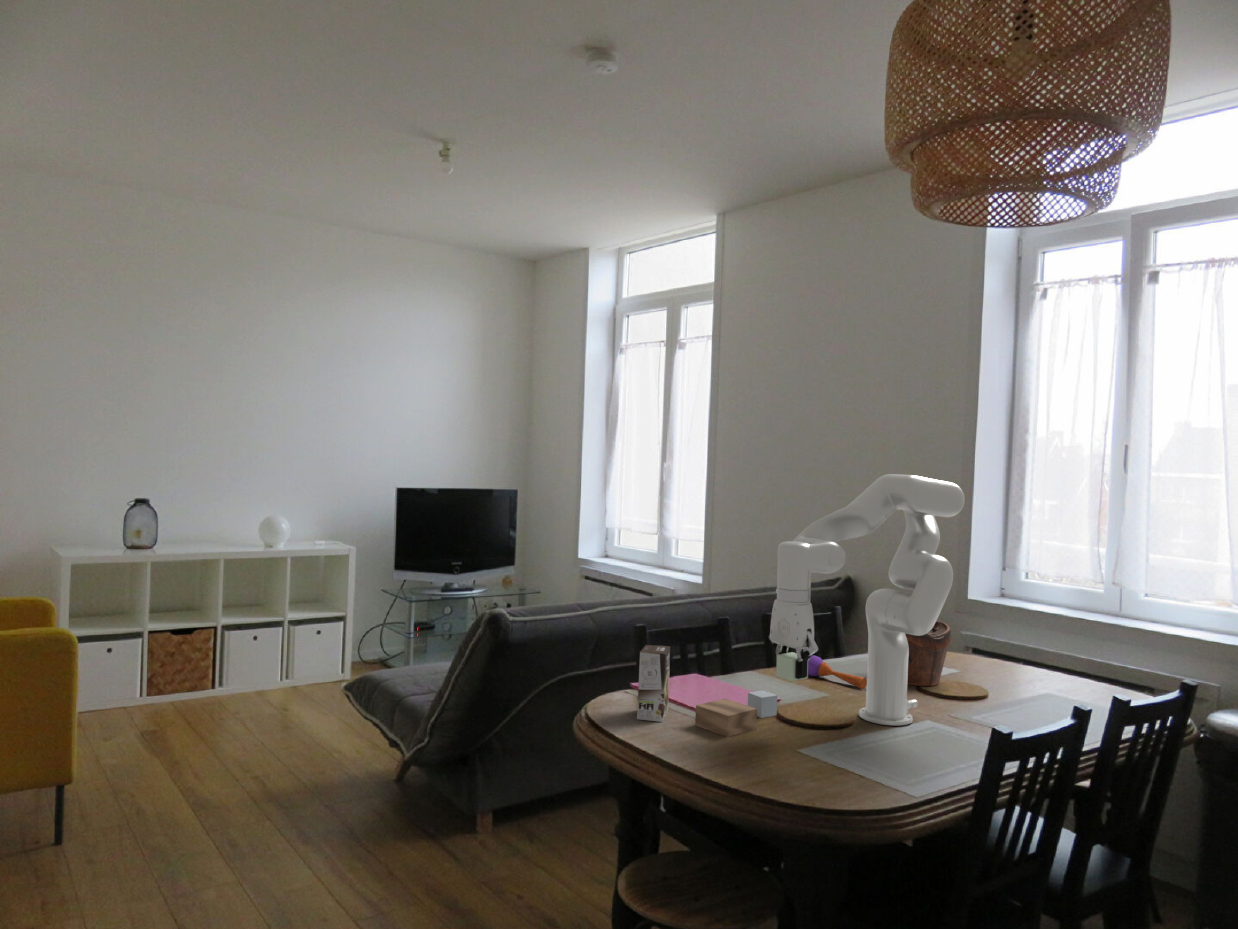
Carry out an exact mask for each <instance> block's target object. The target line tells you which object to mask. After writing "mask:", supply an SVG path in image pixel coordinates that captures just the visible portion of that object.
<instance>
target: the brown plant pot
mask: <svg viewBox="0 0 1238 929" xmlns="http://www.w3.org/2000/svg"><path fill="white" fill-rule="evenodd" d="M951 633H952V631H951V627H950V626H949V624H947V623H945V622H942V621H938V620H936V622H935V624H934V626H933V627H932V629H931V630H930V631H929V632H928V633H926V634H925V635H921V636H915V635H910V634H906V633H905V635H906V638H907V641H908V647H909V657H908V681H907V685H912V686H919V687H920V686H921V687H924V686H925V687H928V686H929V687H933V686H937V685H939V684H940V682H941V677H942V673H943V668H944V666H945V665H944V664H945V661H946V656H947V655H948V654H947V652H948V649H949V646H950V645H951V644H952V643H953V641H952V634H951Z"/></svg>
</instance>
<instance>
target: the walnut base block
mask: <svg viewBox="0 0 1238 929" xmlns="http://www.w3.org/2000/svg"><path fill="white" fill-rule="evenodd" d="M694 720H695V722H694V725H695V726H696V727H699V728H700V729H703V730H704V729H705V730H707V731H710V732H713V733H715V734H718V735H721V736H723V737H727V738H729V737H733V736H736V735H740V734H743V733H747V732H751V731H754V730H757V724H758V717H757V708H753V707H750V706H748V704H743V703H740V702H738V701H734V700H732V699H728V698H722V699H718V700H712V701H709V702H704V703H701V704H696V705H695V718H694Z"/></svg>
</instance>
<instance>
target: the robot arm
mask: <svg viewBox="0 0 1238 929" xmlns="http://www.w3.org/2000/svg"><path fill="white" fill-rule="evenodd" d="M965 501H966V497H965V493H964V491H963V489H962V488H961V487H960V486H959V485H958V484H956V483H954V482H952V481H947V480H946V481H945V480H939V479H934V478H930V477H929V478H928V477H924V476H922V475H921V476H919V475H913V474H897V473H896V474H895V473H894V474H893V473H887V474H884V475H881V476H880V477H877V479H875V481H873V483H871V484H870V485H869V486H867V488H865V490H864V491H862V492H861V493H860V494H859V495H858V496H856V498H854V499H853V501H851V502H850V503H849V504H848V505H846V506H844V507H843V508H840V509H838V510H835V511H833V512H832V513H829V514H827V515H825V516H823V517H821V518H818V519H817V520H815V521H813V522H812V523H811V524H809V525H808V526H807V527H806V528H804V529H803V530H802V531H801V532H800V533H799V534H798V535H797V536H796V537H795V538H794V539H793V541H792V540H790V541H789V540H787V541H782V542H780V543H779V544H778V547H777V564H776V565H777V566H776V567H777V570H776V571H777V574H776V575H777V576H776V577H777V579H776V580H777V581H776V587H775V588H776V589H775V593H776V598H775V599H774V601H773V604H772V611H771V616H770V626H769V627H770V629H769V630H770V631H769V635H768V639H769V641H770V642H771V644H772V646H773V648H774V650H775V654H776V656H777V655H778V654H784V653H789V652H788V651H789V648H791V649H795V653H797V659H798V661H796V673H795V677H796V678H797V679H800V678H805V677H807V660H810V657H811V656H814V654H815V653H817V652H818V651H819V647H818V645H817V643H816V641H815V619H814V611H813V604H812V603H811V583H812V581H811V580H812V577H811V576H812V574H813V573H816V574H817V573H818V574H834V573H836V572H838V571H840V570H841V569H843V567H844V565H845V563H846V561H847V557H846V556H847V555H846V552H845V550H844V548H843V547H842V546H841V545H840V544H838V543H837V542H841V541H846V540H852V539H857V538H861V537H865V536H867V535H870V534H872V533H873V532H875V531H876V530H877V529H878V528H879V527H880V526H881V525H882V524H883V523H884V522H885V521H886V520H887V519H889V517H891V516H892V515H893V514H894V513H895V512H897V511H903V514H904V519H905V530H904V534H903V537H902V538H901V541H900V544H899V545H898V547H897V550H896V552H895V554H894V556H893V558H892V561H891V562H890V565H889V568H888V574H887V575H888V579H889V582H890V583H892V584H893V585H894V586H896V587H899V588H900V589H904V590H910V591H912V593H911V592H906V591H902V590H899V589H898V590H896V589H893V588H879V589H875V590H874V591H872V592H871V593H870V594H869V596H868V597H867V599H866V601H865V602H866V603H865V617H866V623H867V633H868V639H867V642H868V643H867V645H868V646H867V648H868V649H867V664H866V665H867V666H866V668H867V670H866V679H867V685H866V687H865V689H866V690H865V707H862V708H860V709H859V710H858V717H859V718H861V719H863V721H867V722H870V723H872V724H876V725H877V724H878V725H884V726H894V727H895V726H897V727H898V726H908V725H909V724H912V723H913V720H914V719H913V718H914V717H913V715H912V714H911V713H909V710H910V709H913V708H917V707H918V705H919V704H918V700H916V699H914V698H913V699H908V684H907V681H908V657H909V647H908V641H907V638H906V635H905V633H906V634H910V635H915V636H921V635H925V634H926V633H928V632H929V631H930V630H931V629H932V627H933V626H934V624H935V622H936V621H938V618H939V617H940V614H941V613H942V612H941V611H942V609H943V607H944V605H945V603H946V600H947V598H948V595H949V594H950V592H951V589H952V586H953V582H954V570H953V569H954V568H953V567H952V564H951V562H950V561H949V560H948V559H947V558H946V557H944V556H942V555H939V554H936V552H937V550H938V548H939V545H940V541H941V540H940V539H941V533H940V529H939V525H938V523H937V520H936V517H940V518H941V517H942V518H952V517H954V516H957V515H958V514H959V513H960V512H962V510H963V508H964V506H965V503H966V502H965Z"/></svg>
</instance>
